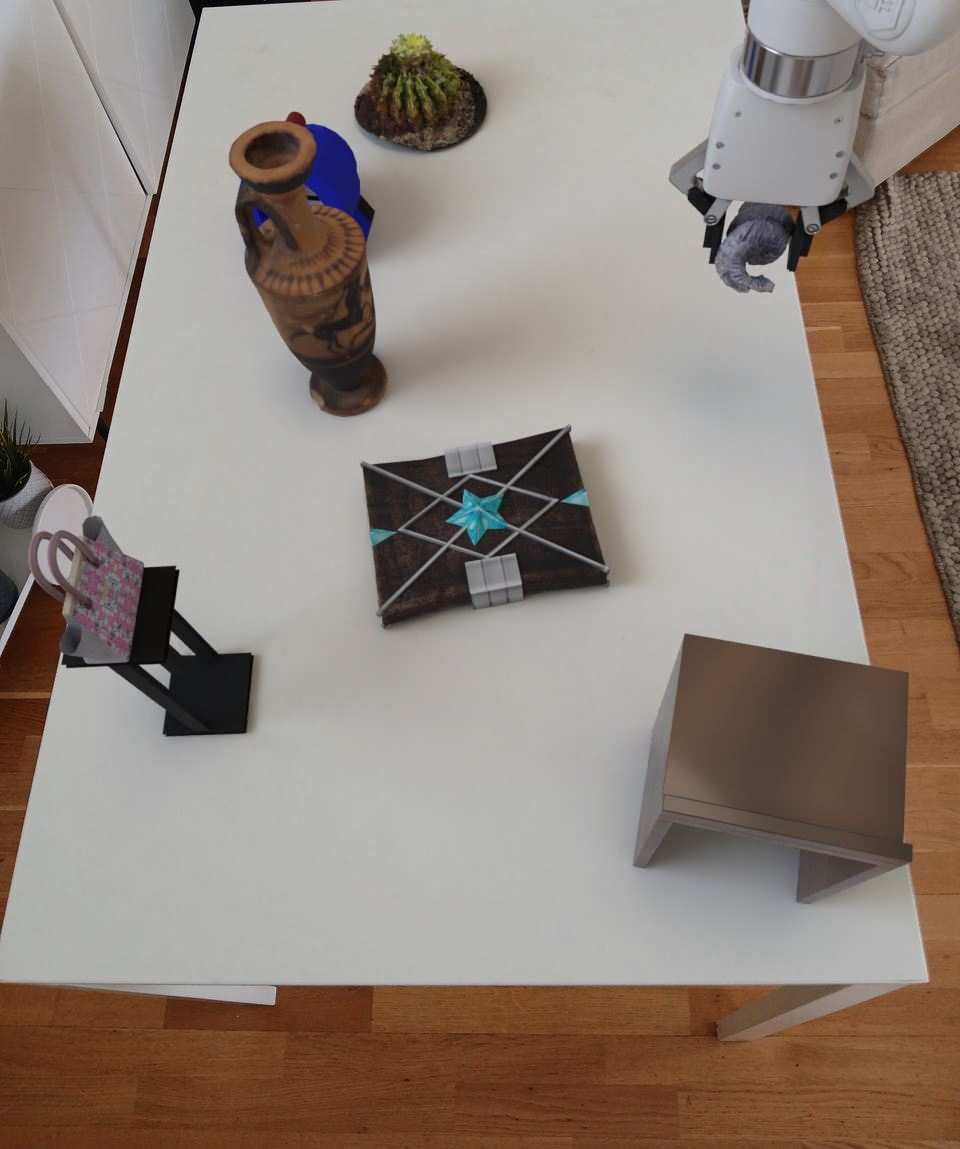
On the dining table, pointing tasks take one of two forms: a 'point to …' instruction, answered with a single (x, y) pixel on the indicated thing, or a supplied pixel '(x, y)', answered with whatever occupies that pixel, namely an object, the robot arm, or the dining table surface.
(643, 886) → the dining table surface
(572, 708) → the dining table surface
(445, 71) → the cactus
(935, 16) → the robot arm
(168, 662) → the handbag
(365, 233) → the alarm clock
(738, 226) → the seashell
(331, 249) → the vase
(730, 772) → the shelf
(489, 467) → the book
